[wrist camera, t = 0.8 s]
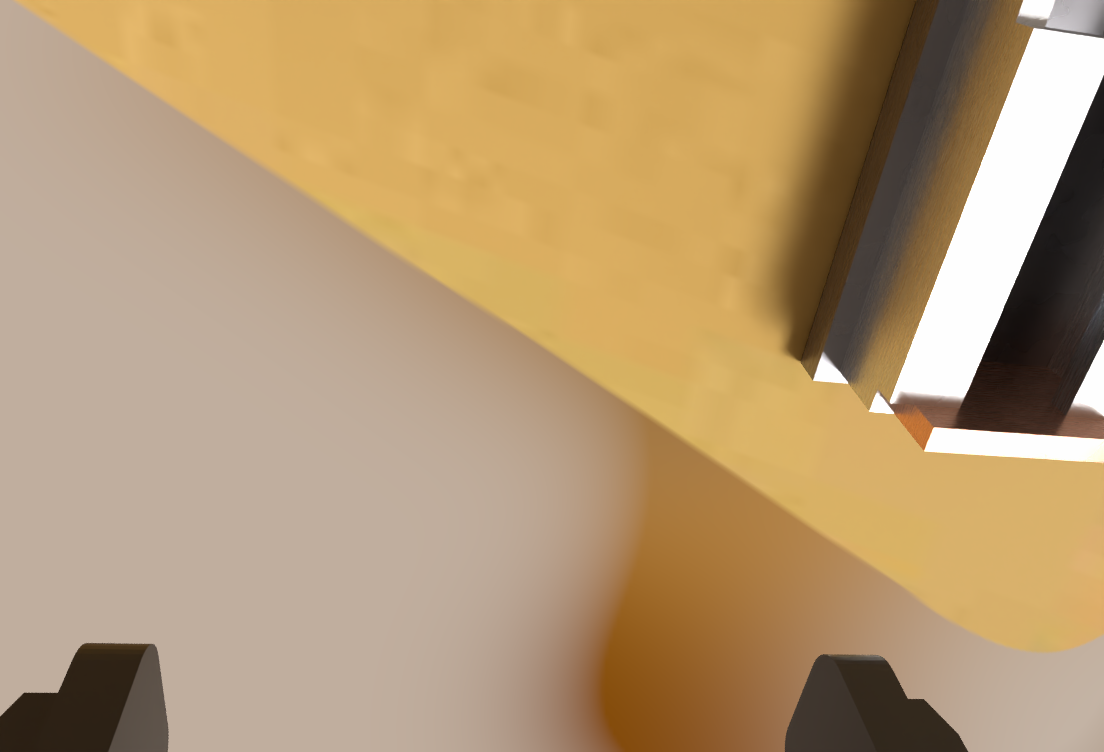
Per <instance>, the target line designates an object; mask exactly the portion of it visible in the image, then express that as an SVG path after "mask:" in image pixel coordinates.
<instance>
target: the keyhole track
mask: <svg viewBox="0 0 1104 752" xmlns="http://www.w3.org/2000/svg"><path fill="white" fill-rule="evenodd" d="M801 364H802V365H803V367H804V368H805V370H806V371H807V372H808V374H809V375H810V377H811V378H812V380H813V381H825V382H838V383H849V385H850V386H851V387H852V389H853V390H854V391H855V393H856V394H857V395H858V397H859V398H860V399H861V401H862V402H863V403H864V405H865V406H866V407H867V409H868V410H869V411H870V412H883V413H894V414H895V415H896V416H897V418H898V419H899V420H900V421H901V423H902V424H903V425H904V426H905V428H906V429H907V430H908V431H909V433H910V434H911V435H912V436H913V438H914V439H915V440H916V442H917V443H918V444H919V445H920V447H921V448H922V449H923V450H924V451H930V452H945V453H961V454H977V455H993V456H1008V457H1024V458H1040V459H1055V460H1071V461H1087V462H1102V463H1104V0H917V1H916V4H915V7H914V10H913V13H912V17H911V20H910V23H909V26H908V29H907V32H906V35H905V38H904V42H903V45H902V48H901V51H900V54H899V57H898V60H897V63H896V66H895V70H894V73H893V76H892V79H891V82H890V85H889V88H888V91H887V95H886V98H885V101H884V104H883V107H882V110H881V113H880V116H879V120H878V123H877V126H876V129H875V132H874V135H873V138H872V141H871V144H870V148H869V151H868V154H867V157H866V160H865V163H864V166H863V169H862V173H861V176H860V179H859V182H858V185H857V188H856V191H855V194H854V198H853V201H852V204H851V207H850V210H849V213H848V216H847V219H846V222H845V226H844V229H843V232H842V235H841V238H840V241H839V244H838V247H837V251H836V254H835V257H834V260H833V263H832V266H831V269H830V272H829V276H828V279H827V282H826V285H825V288H824V291H823V294H822V297H821V300H820V304H819V307H818V310H817V313H816V316H815V319H814V322H813V325H812V329H811V332H810V335H809V338H808V341H807V344H806V347H805V350H804V354H803V357H802V360H801Z"/></svg>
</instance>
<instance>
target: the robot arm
mask: <svg viewBox="0 0 1104 752" xmlns="http://www.w3.org/2000/svg"><path fill="white" fill-rule="evenodd" d="M0 752H168V723H167V716H166V708H165V701H164V694H163V686H162V679H161V672H160V664H159V657H158V652H157V648H156V647H155V645H154V644H114V643H86V644H83V645H82V646H81V647H80V648H79V649H78V651H77V652H76V654H75V656H74V658H73V660H72V662H71V665H70V667H69V669H68V671H67V674H66V676H65V678H64V681H63V683H62V686H61V687H60V690H59V692H58V693H23V694H22V696H21V697H20V698H18V699H17V700H16V701H15V702H14V703H13V704H12V706H10V707H9V708H8V709H7V710H6V711H5V712H4V713H3V714H2V715H1V716H0ZM785 752H968V751H967V749H966V747H965V745H964V744H963V742H962V740H961V738H960V736H959V735H958V733H956V731H954V729H953V728H952V727H951V726H949V724H948V723H947V722H946V721H945V720H944V719H943V718H942V717H941V716H940V715H939V714H938V713H937V712H936V711H935V710H934V709H933V708H932V707H931V706H930V705H929V704H928V703H927V702H926V701H925V700H924V699H908V698H907V697H906V695H905V693H904V691H903V689H902V687H901V685H900V683H899V681H898V679H897V677H896V676H895V673H894V672H893V670H892V668H891V666H890V665H889V663H888V662H887V661H886V660H885V659H884V658H883V657H881V656H878V655H828V654H823V655H820V656H819V657H818V658H817V659H816V661H815V662H814V665H813V667H812V669H811V672H810V674H809V677H808V679H807V682H806V684H805V687H804V689H803V692H802V694H801V697H800V699H799V702H798V704H797V707H796V709H795V712H794V714H793V717H792V719H791V722H790V724H789V727H788V730H787V733H786V740H785Z"/></svg>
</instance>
